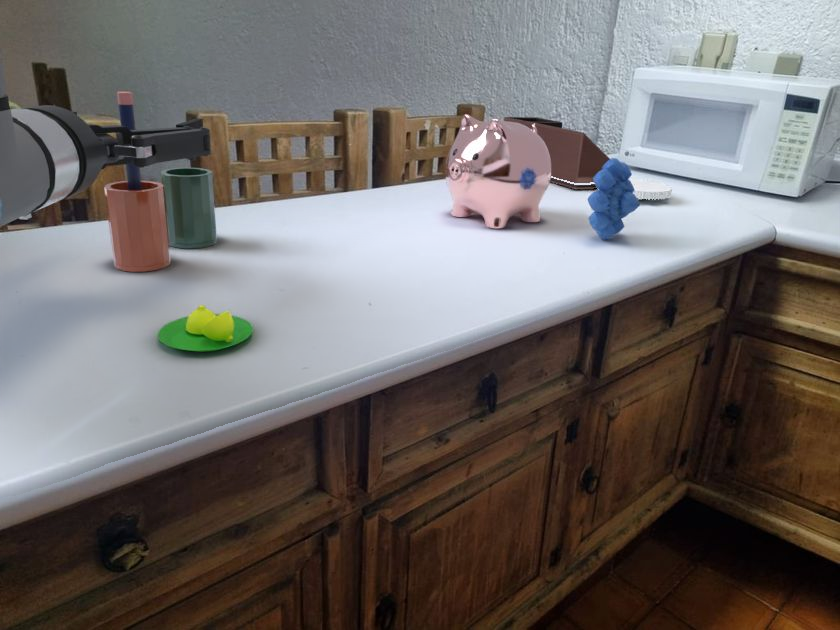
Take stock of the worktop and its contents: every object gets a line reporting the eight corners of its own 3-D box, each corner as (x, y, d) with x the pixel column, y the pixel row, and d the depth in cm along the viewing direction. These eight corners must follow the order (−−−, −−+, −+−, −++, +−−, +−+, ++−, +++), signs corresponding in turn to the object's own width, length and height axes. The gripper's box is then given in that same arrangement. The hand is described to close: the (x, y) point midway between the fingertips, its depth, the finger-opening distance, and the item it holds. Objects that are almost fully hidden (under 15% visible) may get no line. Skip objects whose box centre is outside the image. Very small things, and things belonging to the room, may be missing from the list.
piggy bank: (418, 214, 106) (423, 111, 100) (495, 203, 117) (505, 110, 111) (485, 237, 95) (496, 122, 89) (564, 222, 106) (578, 120, 100)
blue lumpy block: (615, 253, 91) (630, 165, 86) (571, 242, 95) (583, 158, 90) (647, 238, 99) (663, 158, 95) (606, 229, 103) (618, 151, 99)
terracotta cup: (103, 268, 73) (92, 188, 70) (133, 254, 79) (124, 178, 76) (153, 274, 73) (145, 193, 69) (180, 259, 78) (173, 183, 75)
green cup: (158, 246, 82) (151, 173, 79) (182, 234, 88) (176, 166, 85) (203, 250, 82) (198, 178, 78) (224, 238, 87) (220, 169, 84)
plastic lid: (649, 208, 120) (652, 194, 119) (582, 194, 129) (584, 181, 128) (681, 199, 130) (684, 186, 129) (616, 187, 138) (618, 175, 137)
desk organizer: (532, 164, 161) (537, 116, 157) (614, 188, 137) (623, 132, 133) (496, 165, 156) (500, 116, 152) (574, 190, 132) (582, 132, 128)
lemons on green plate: (271, 331, 60) (270, 302, 59) (213, 365, 53) (210, 333, 52) (201, 314, 63) (199, 286, 62) (137, 344, 56) (133, 313, 55)
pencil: (133, 259, 75) (114, 92, 68) (140, 256, 76) (121, 91, 69) (144, 261, 75) (126, 93, 68) (151, 257, 76) (134, 92, 69)
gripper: (-113, 195, 54) (28, 156, 73) (195, 211, 54) (253, 168, 74) (-137, 99, 51) (16, 85, 71) (188, 117, 52) (250, 98, 71)
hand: (137, 127), depth 72 cm, fingers open, 13 cm apart
